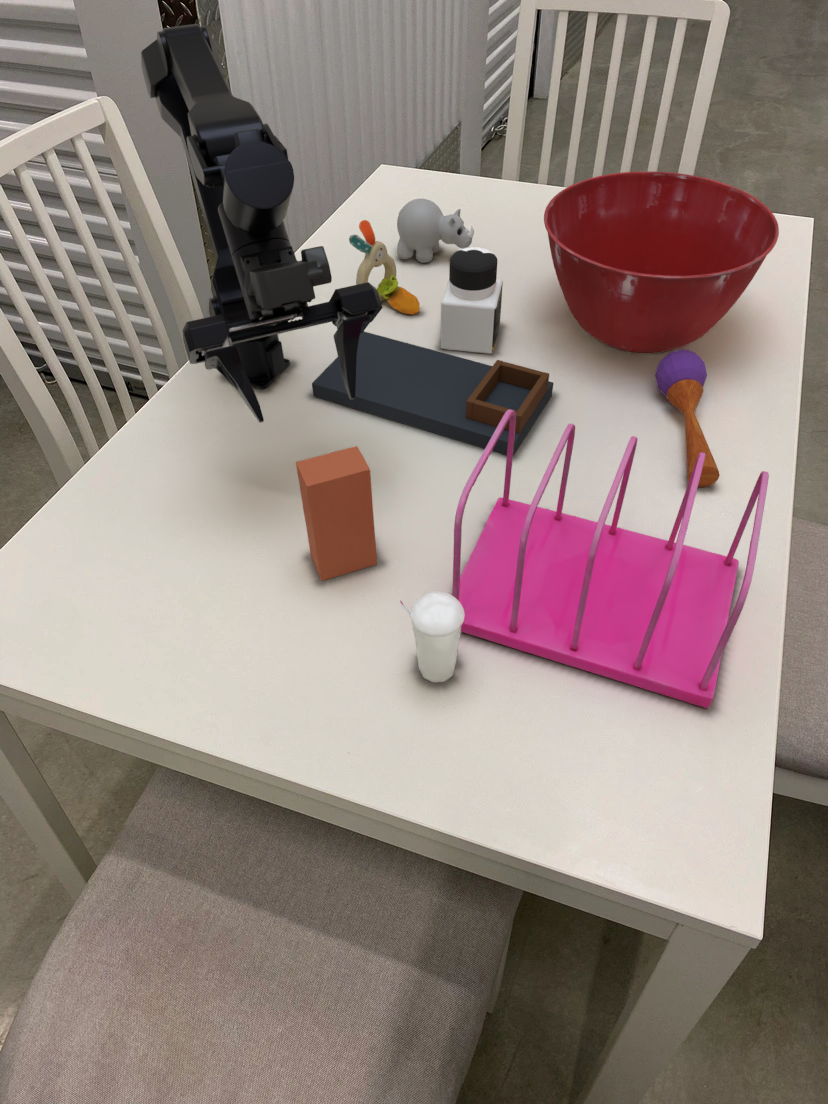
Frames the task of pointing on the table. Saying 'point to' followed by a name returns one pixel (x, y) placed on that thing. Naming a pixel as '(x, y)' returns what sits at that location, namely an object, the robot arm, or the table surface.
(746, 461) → the table surface
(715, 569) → the file sorter
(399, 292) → the rattle
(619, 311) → the mixing bowl
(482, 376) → the dark board with frame
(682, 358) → the purple and brown maraca
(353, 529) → the terracotta rectangular block
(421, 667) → the milkshake
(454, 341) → the medicine bottle
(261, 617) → the table surface
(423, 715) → the table surface
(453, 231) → the chubby cartoon animal
